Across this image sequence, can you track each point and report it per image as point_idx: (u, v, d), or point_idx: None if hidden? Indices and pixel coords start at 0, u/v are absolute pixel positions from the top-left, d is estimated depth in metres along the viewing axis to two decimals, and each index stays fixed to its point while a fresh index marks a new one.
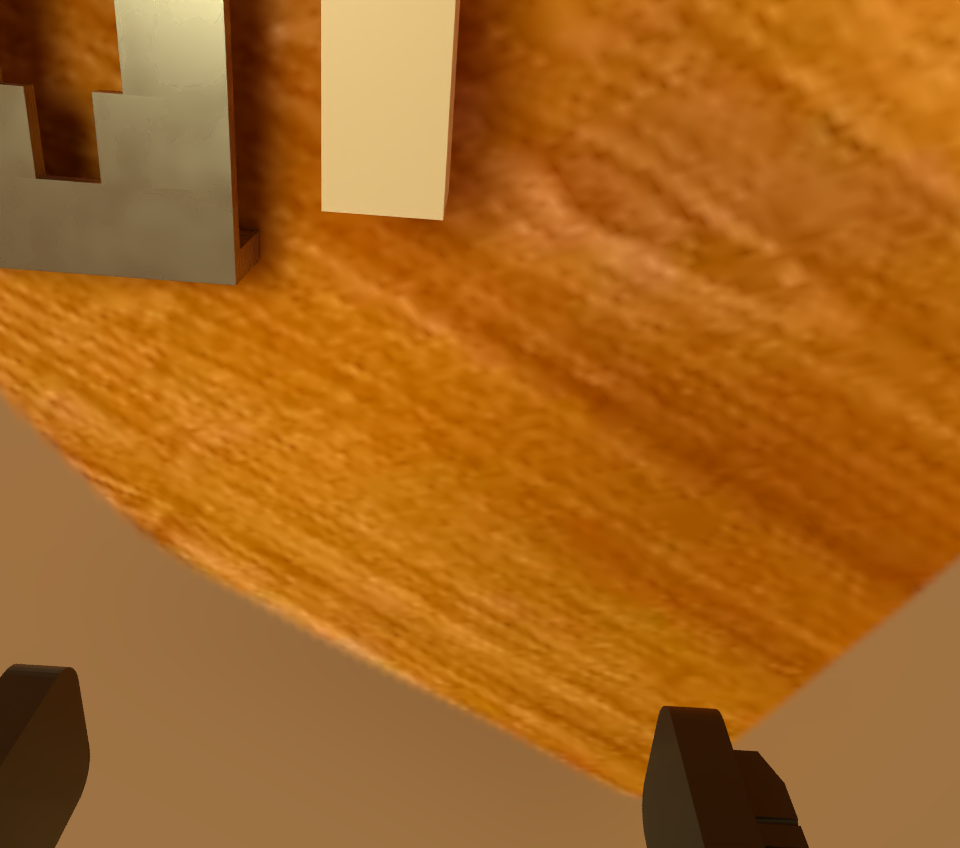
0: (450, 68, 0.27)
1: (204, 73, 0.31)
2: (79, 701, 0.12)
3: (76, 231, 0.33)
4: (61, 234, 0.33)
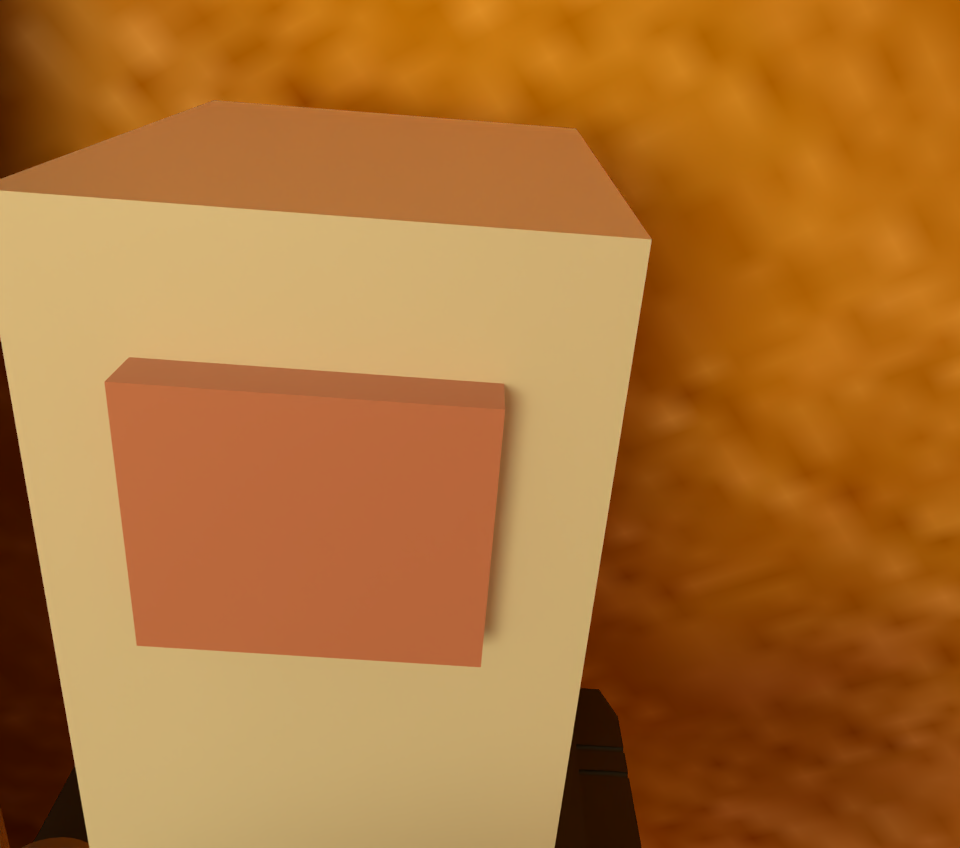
0: None
1: None
2: None
3: None
4: None
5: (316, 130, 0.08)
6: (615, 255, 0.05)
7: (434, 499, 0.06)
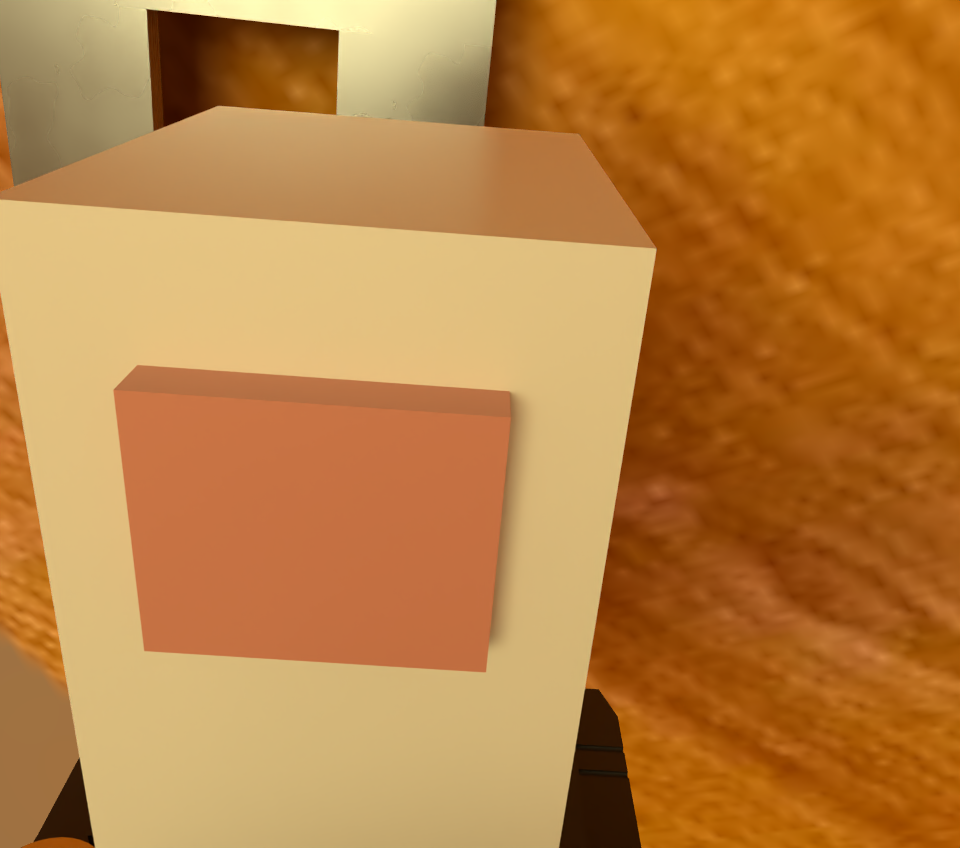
0: None
1: None
2: None
3: None
4: None
5: (321, 137, 0.08)
6: (620, 264, 0.05)
7: (439, 506, 0.06)
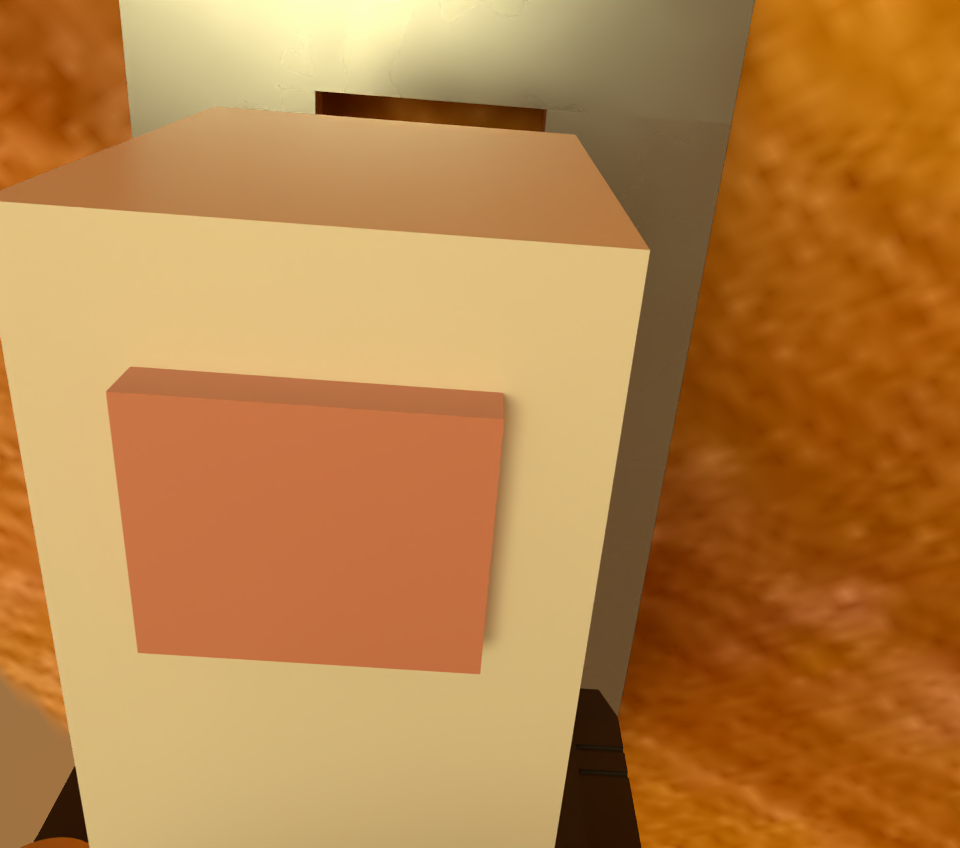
0: None
1: (600, 656, 0.24)
2: None
3: None
4: None
5: (316, 137, 0.08)
6: (614, 265, 0.05)
7: (433, 507, 0.06)
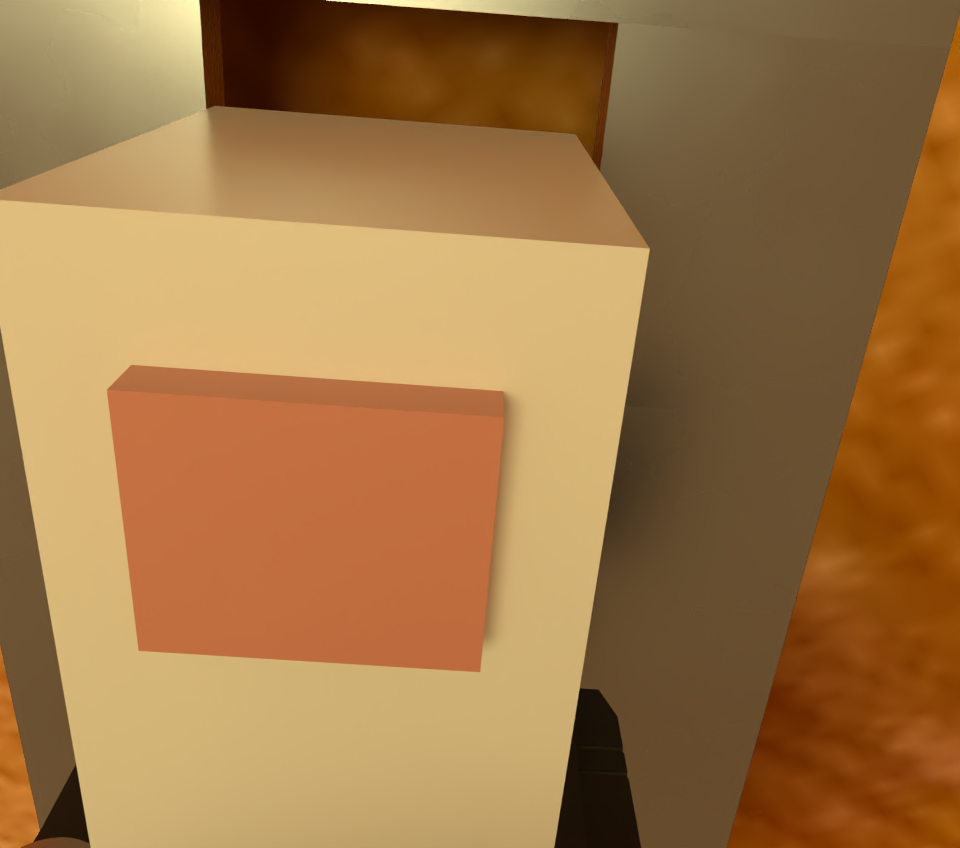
0: None
1: None
2: None
3: None
4: None
5: (317, 137, 0.08)
6: (613, 264, 0.05)
7: (431, 506, 0.06)
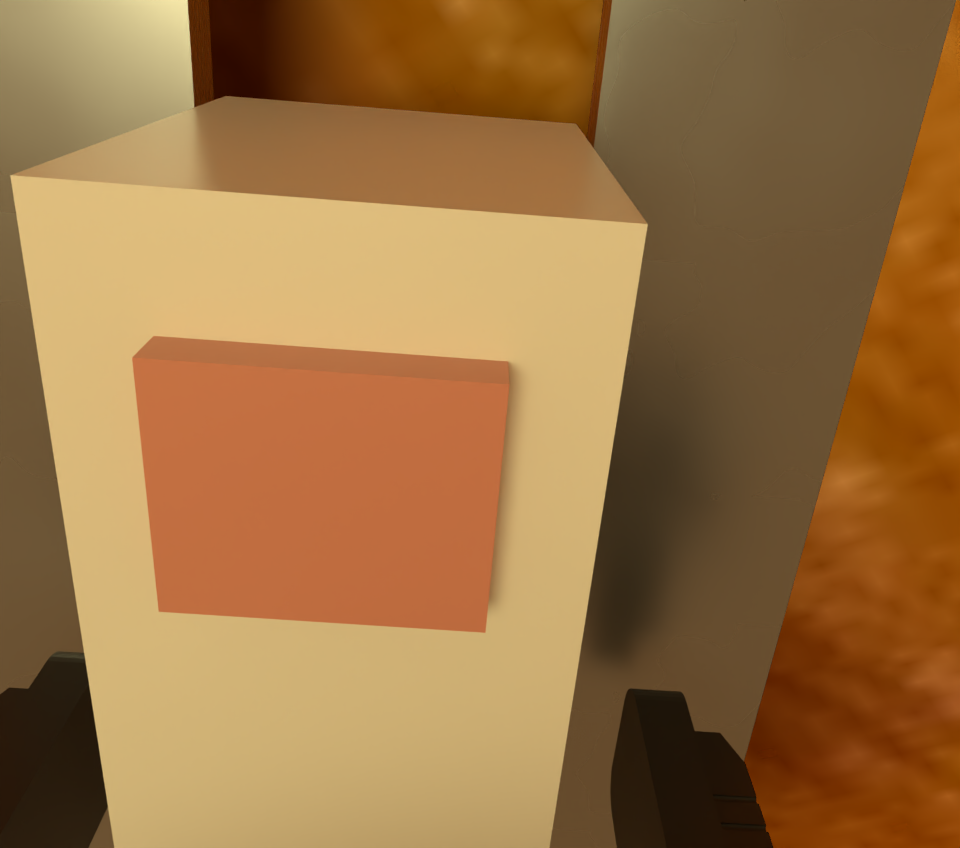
0: None
1: None
2: None
3: None
4: None
5: (326, 124, 0.09)
6: (613, 239, 0.06)
7: (441, 470, 0.06)
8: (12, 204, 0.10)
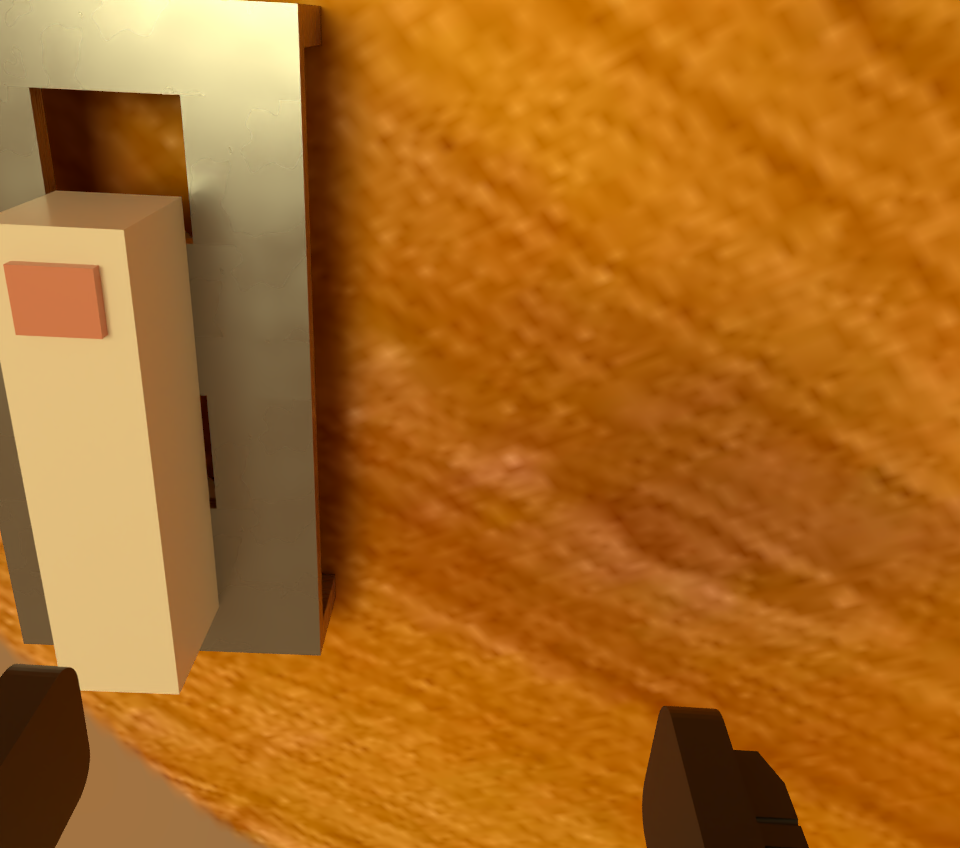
0: (164, 581, 0.28)
1: (293, 490, 0.33)
2: (79, 701, 0.12)
3: None
4: None
5: (79, 202, 0.27)
6: (116, 233, 0.24)
7: (81, 291, 0.24)
8: None
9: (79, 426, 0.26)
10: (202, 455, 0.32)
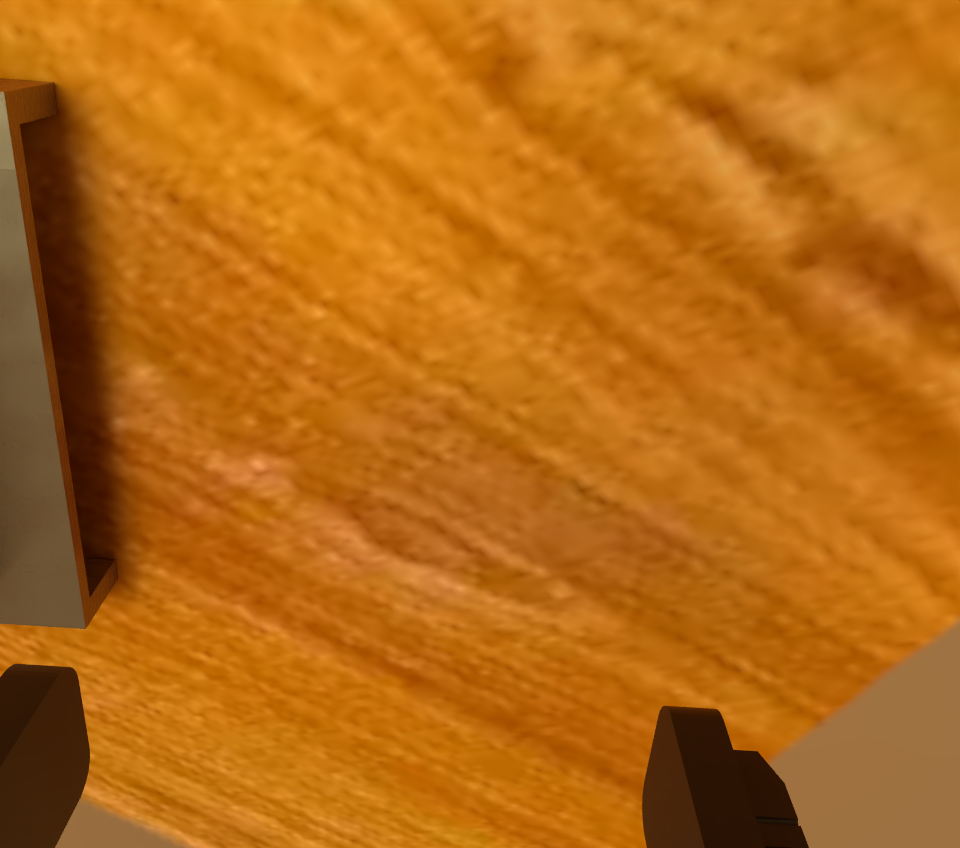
0: None
1: (46, 488, 0.38)
2: (79, 701, 0.12)
3: None
4: None
5: None
6: None
7: None
8: None
9: None
10: None
